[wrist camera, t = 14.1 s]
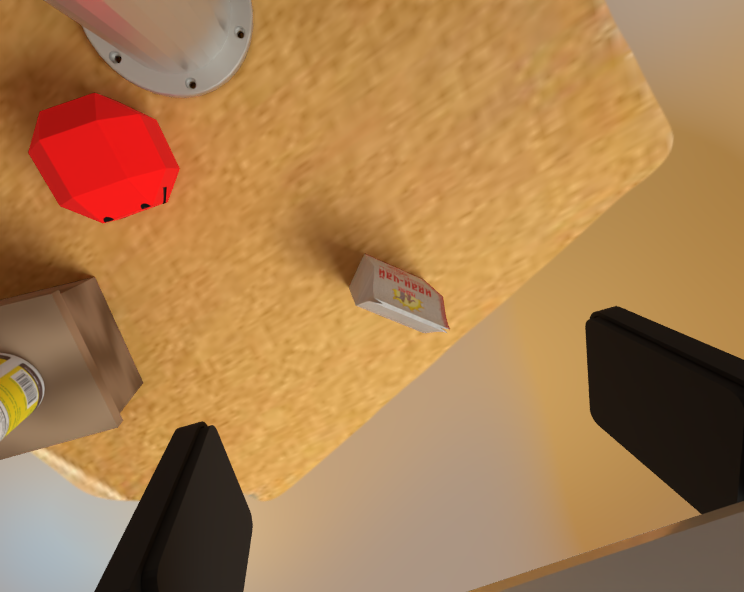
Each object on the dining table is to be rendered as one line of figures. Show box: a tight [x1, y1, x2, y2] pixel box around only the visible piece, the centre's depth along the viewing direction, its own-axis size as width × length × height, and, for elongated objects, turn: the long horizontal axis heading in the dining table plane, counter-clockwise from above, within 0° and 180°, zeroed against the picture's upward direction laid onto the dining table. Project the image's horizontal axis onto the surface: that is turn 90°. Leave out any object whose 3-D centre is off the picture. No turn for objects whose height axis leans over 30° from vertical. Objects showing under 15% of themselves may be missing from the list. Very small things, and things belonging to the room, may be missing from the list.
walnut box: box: [0, 277, 143, 460], centre depth 34 cm, size 12×12×7 cm
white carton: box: [349, 254, 450, 333], centre depth 36 cm, size 4×7×10 cm, turn 64°
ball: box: [28, 93, 180, 223], centre depth 31 cm, size 8×8×8 cm
